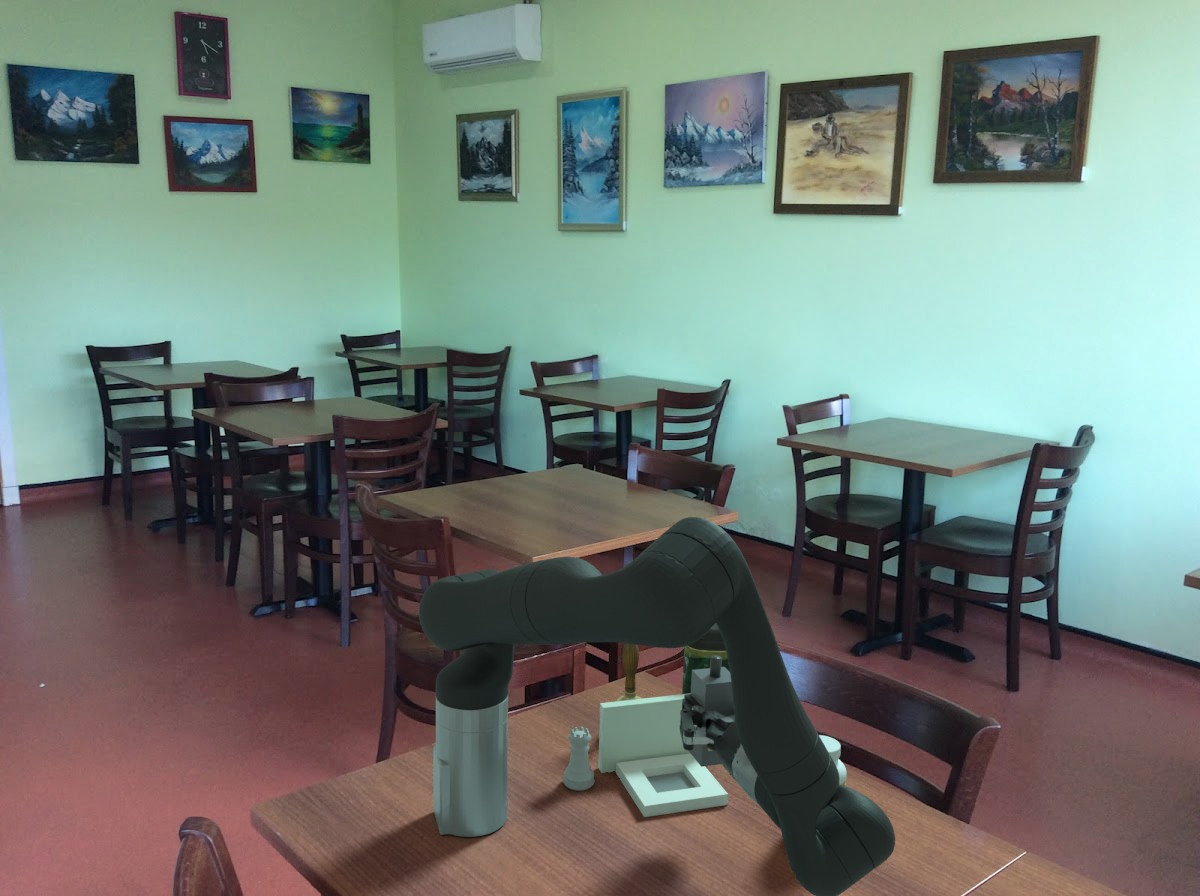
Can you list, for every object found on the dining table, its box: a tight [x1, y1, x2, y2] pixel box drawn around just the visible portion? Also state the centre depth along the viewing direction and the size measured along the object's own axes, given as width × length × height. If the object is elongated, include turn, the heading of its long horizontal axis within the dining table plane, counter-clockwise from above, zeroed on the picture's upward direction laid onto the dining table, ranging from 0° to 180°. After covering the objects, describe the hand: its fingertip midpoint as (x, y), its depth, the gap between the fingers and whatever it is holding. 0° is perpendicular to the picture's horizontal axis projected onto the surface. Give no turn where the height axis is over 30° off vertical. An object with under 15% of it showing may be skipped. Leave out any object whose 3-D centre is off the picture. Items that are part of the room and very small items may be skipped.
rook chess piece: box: [562, 726, 596, 792], centre depth 139 cm, size 4×4×8 cm
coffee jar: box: [681, 623, 730, 694], centre depth 155 cm, size 10×8×19 cm
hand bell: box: [616, 643, 643, 701], centre depth 154 cm, size 8×8×16 cm
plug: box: [688, 655, 734, 767], centre depth 126 cm, size 4×5×13 cm
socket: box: [597, 693, 729, 818], centre depth 139 cm, size 18×14×10 cm
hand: (704, 699), depth 129 cm, fingers closed on plug, 4 cm apart
